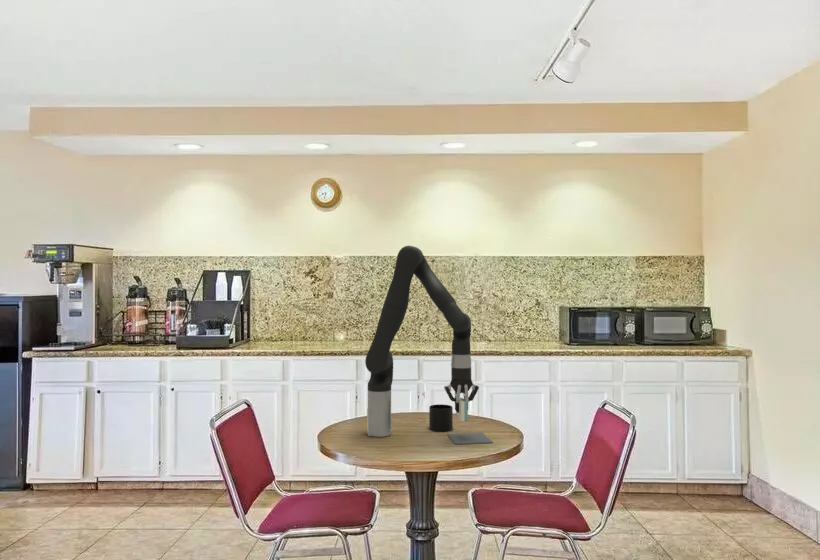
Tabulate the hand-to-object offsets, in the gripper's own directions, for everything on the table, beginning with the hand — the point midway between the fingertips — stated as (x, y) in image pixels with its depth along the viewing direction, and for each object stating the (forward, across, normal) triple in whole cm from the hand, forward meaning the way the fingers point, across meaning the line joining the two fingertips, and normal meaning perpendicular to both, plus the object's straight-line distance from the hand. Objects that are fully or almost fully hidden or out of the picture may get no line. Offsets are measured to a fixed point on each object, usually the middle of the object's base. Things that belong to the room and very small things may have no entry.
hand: (461, 411), depth 208 cm
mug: (+10, -5, +18) cm, 22 cm away
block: (+2, 0, 0) cm, 2 cm away
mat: (+10, +3, 0) cm, 11 cm away
